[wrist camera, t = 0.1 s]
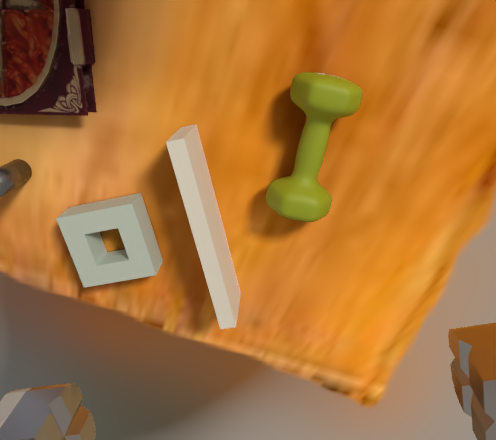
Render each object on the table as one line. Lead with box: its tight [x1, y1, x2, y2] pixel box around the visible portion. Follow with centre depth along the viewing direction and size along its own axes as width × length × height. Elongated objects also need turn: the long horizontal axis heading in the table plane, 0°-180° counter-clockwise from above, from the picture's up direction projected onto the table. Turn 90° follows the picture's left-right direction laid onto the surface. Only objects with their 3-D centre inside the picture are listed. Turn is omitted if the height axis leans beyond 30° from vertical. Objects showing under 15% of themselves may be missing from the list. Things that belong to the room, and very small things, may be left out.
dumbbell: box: [265, 72, 363, 222], centre depth 53 cm, size 16×8×7 cm, turn 168°
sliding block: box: [56, 193, 163, 288], centre depth 60 cm, size 10×10×4 cm
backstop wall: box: [166, 124, 241, 329], centre depth 57 cm, size 24×2×8 cm, turn 13°
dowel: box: [0, 159, 32, 197], centre depth 57 cm, size 3×3×7 cm
